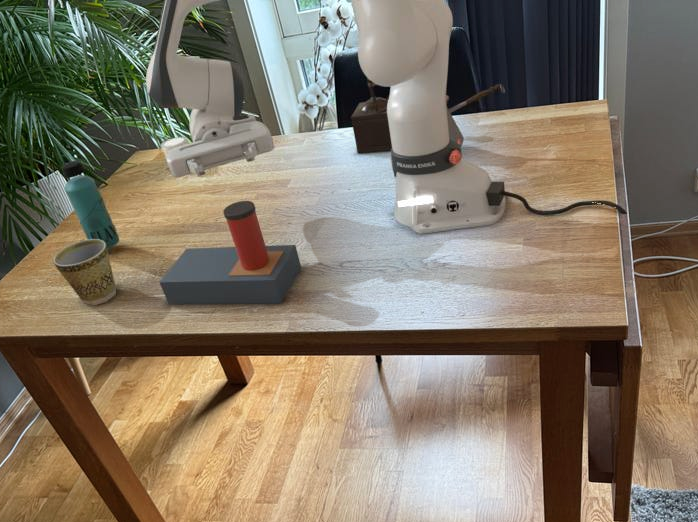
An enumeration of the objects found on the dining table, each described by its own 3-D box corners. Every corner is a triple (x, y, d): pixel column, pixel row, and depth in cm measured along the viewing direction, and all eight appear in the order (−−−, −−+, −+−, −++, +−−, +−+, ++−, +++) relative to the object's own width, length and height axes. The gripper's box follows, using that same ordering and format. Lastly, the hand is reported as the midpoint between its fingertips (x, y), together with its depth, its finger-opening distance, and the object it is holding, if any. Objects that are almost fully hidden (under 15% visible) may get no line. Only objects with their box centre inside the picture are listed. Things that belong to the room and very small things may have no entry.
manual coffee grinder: (400, 150, 170) (389, 75, 159) (356, 154, 173) (343, 80, 162) (409, 126, 182) (400, 54, 171) (368, 130, 185) (357, 59, 174)
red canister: (274, 254, 128) (258, 199, 122) (264, 270, 124) (247, 215, 118) (247, 255, 130) (230, 201, 123) (236, 271, 126) (218, 216, 119)
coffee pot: (411, 164, 162) (403, 100, 153) (421, 144, 171) (413, 82, 162) (504, 160, 156) (501, 92, 147) (509, 139, 164) (507, 74, 155)
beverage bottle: (96, 260, 151) (56, 173, 138) (91, 249, 155) (51, 164, 143) (125, 249, 152) (88, 163, 140) (120, 239, 157) (83, 154, 145)
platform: (301, 267, 133) (295, 243, 130) (281, 303, 125) (274, 278, 121) (194, 270, 140) (185, 247, 137) (168, 304, 131) (158, 281, 128)
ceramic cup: (125, 300, 135) (105, 255, 129) (74, 316, 133) (51, 271, 127) (124, 270, 145) (105, 227, 139) (76, 284, 143) (55, 241, 137)
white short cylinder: (188, 171, 183) (180, 145, 179) (165, 173, 185) (156, 148, 180) (198, 160, 188) (190, 135, 184) (175, 162, 190) (167, 137, 186)
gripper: (159, 140, 135) (163, 163, 124) (260, 112, 138) (273, 132, 127) (170, 170, 139) (175, 196, 128) (269, 142, 141) (282, 165, 131)
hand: (225, 164), depth 127 cm, fingers open, 8 cm apart
